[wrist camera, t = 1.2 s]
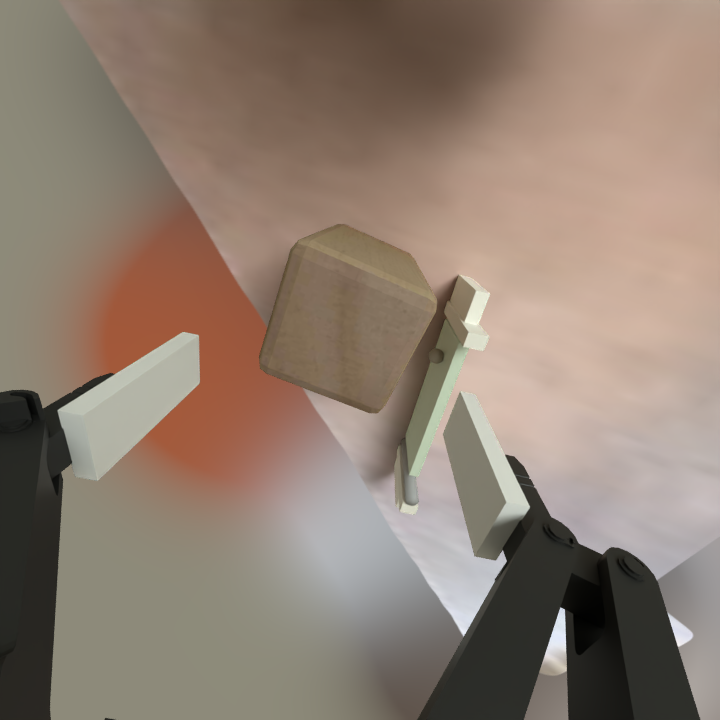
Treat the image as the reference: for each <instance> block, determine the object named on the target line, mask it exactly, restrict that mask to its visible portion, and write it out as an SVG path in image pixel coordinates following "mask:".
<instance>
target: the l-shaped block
mask: <svg viewBox="0 0 720 720" xmlns="http://www.w3.org/2000/svg"><path fill="white" fill-rule="evenodd" d="M489 296H490V293H489V292H488V291H486V290H485V289H484V288H483V287H482V286H480V285H479V284H478V283H477V282H476V281H474V280H473V279H472V278H471V277H468V276H463V275H459V276H458V279H457V282H456V285H455V287H454V290H453V293H452V296H451V299H450V301H447V304H446V307H445V310H444V313H445V315H446V317H447V319H448V321H449V322H450V324H451V326H452V328H453V330H454V331H455V333H456V335H457V337H458V339H459V340H460V342H461V344H462V346H463V347H467V348H471V349H476V350H480V351H484V349H485V346H486V344H487V342H488V339H489V336H488V334H487V333H486V332H485V331H484V329H483V328H482V327H481V326H480V324H479V321H480V319H481V316H482V313H483V311H484V308H485V306H486V303H487V301H488V298H489ZM401 444H402V445H399V446H398V449H397V458H396V461H395V464H394V475H395V502H396V507H399V510H400V512H403V513H408V514H413V515H415V514H416V511H417V509H418V502H419V500H418V491H417V483H416V476H411V475H409V468H408V457H407V446H406V438H404V439H403V440H402V441H401Z"/></svg>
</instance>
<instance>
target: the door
mask: <svg viewBox="0 0 720 720" xmlns="http://www.w3.org/2000/svg"><path fill="white" fill-rule="evenodd" d="M468 349H469V348H467V347H463V346H462V344H461V342H460V340H459V339H458V337H457V335H456V333H455V331H454V330H453V328H452V326H451V324H450V322H449V321H448V319H445V321H444V324H443V327H442V330H441V333H440V336H439V339H438V342H437V345H436V348H435V349H433V350H431V351H430V353H429V360H430V361H431V362H430V365H429V368H428V371H427V374H426V377H425V380H424V383H423V385H422V388H421V391H420V394H419V397H418V400H417V403H416V406H415V409H414V412H413V415H412V418H411V421H410V423H409V426H408V429H407V432H406V435H405V436H406V446H407V457H408V468H409V475H411V476H416V477H418V476H419V474H420V471H421V468H422V466H423V463H424V461H425V458H426V456H427V453H428V451H429V448H430V446H431V443H432V441H433V438H434V436H435V433H436V430H437V428H438V425H439V423H440V420H441V418H442V415H443V413H444V410H445V408H446V405H447V403H448V400H449V397H450V395H451V392H452V390H453V387H454V385H455V382H456V380H457V377H458V375H459V372H460V370H461V367H462V365H463V362H464V359H465V357H466V354H467V352H468Z"/></svg>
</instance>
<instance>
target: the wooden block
mask: <svg viewBox="0 0 720 720" xmlns="http://www.w3.org/2000/svg"><path fill="white" fill-rule="evenodd" d="M436 308H437V299H436V297H435V295H434V293H433V292H432V290H431V288H430V286H429V285H428V283H427V281H426V279H425V277H424V276H423V274H422V272H421V270H420V269H419V267H418V265H417V263H416V261H415V260H414V258H413V257H412V256H411V255H410V254H409V253H407V252H405V251H402V250H400V249H398V248H396V247H394V246H391V245H389V244H387V243H385V242H382V241H380V240H378V239H376V238H374V237H371V236H369V235H367V234H365V233H362V232H360V231H358V230H356V229H354V228H351V227H349V226H347V225H345V224H338V225H335V226H333V227H330V228H327V229H325V230H322V231H320V232H317V233H315V234H312V235H310V236H307V237H305V238H302V239H300V240H298V242H297V243H296V244H295V245H294V246H293V247H292V249H291V251H290V254H289V258H288V261H287V264H286V268H285V271H284V274H283V278H282V281H281V284H280V288H279V291H278V295H277V298H276V301H275V305H274V308H273V311H272V315H271V318H270V321H269V325H268V328H267V332H266V335H265V338H264V342H263V345H262V348H261V352H260V355H259V359H260V369H261V370H263V371H264V372H265V373H267V374H269V375H272V376H274V377H277V378H279V379H282V380H285V381H288V382H290V383H292V384H295V385H298V386H300V387H303V388H305V389H308V390H311V391H313V392H316V393H318V394H321V395H324V396H326V397H329V398H331V399H334V400H337V401H339V402H342V403H344V404H347V405H350V406H352V407H355V408H357V409H360V410H363V411H365V412H368V413H378V412H379V411H380V410H381V409H382V408H383V407H384V406H385V405H386V403H387V401H388V399H389V397H390V396H391V394H392V392H393V390H394V388H395V386H396V385H397V383H398V381H399V379H400V377H401V375H402V374H403V372H404V370H405V368H406V366H407V364H408V363H409V361H410V359H411V357H412V355H413V353H414V352H415V350H416V348H417V346H418V344H419V342H420V341H421V339H422V337H423V335H424V333H425V331H426V330H427V328H428V326H429V324H430V322H431V320H432V318H433V317H434V315H435V313H436Z"/></svg>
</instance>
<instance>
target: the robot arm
mask: <svg viewBox="0 0 720 720" xmlns="http://www.w3.org/2000/svg"><path fill="white" fill-rule="evenodd" d="M199 369H200V367H199V335H195V334H191V333H186V332H183V333H181V334H179V335H178V336H176V337H174V338H173V339H171V340H169V341H168V342H166V343H165V344H163V345H162V346H160V347H158V348H156V349H155V350H153V351H152V352H150V353H148V354H147V355H145V356H144V357H142V358H141V359H139V360H137V361H136V362H134V363H132V364H131V365H129V366H128V367H126V368H124V369H123V370H122V371H120V372H118V373H116V374H113V373H109V374H106V375H103V376H100V377H97V378H94V379H92V380H91V381H89V382H87V383H86V384H84V385H83V386H82V387H79V388H77V389H76V390H74V391H73V392H72V393H69V394H67V395H65V396H64V397H62V398H60V399H59V400H57V401H55V402H54V403H52V404H50V405H49V406H47V407H46V408H44V409H43V408H42V405H41V401H40V398H39V395H38V394H37V393H35V392H33V391H28V390H11V391H6V392H1V393H0V720H51V717H50V692H51V677H52V658H53V643H54V626H55V608H56V591H57V574H58V556H59V540H60V523H61V505H62V488H63V478H62V474H61V472H62V471H63V470H64V469H65V468H67V467H68V466H69V465H70V464H72V468H73V472H74V475H75V477H79V478H85V479H89V480H94V481H98V480H99V479H100V478H101V477H102V476H103V475H104V474H105V473H107V472H108V471H109V470H110V469H111V468H112V467H113V466H114V465H115V464H116V463H117V462H118V461H119V460H120V459H121V458H122V457H123V456H124V455H125V454H126V453H127V452H129V451H130V449H132V448H133V447H134V446H135V445H136V444H137V443H138V442H139V441H140V440H141V439H142V438H143V437H144V436H145V435H146V434H147V433H148V432H149V431H150V430H151V429H153V428H154V427H155V426H156V425H157V424H158V423H159V422H160V421H161V420H162V419H163V418H164V417H165V416H166V415H167V414H168V413H169V412H170V411H171V410H172V409H173V408H174V407H175V406H177V405H178V404H179V403H180V402H181V401H182V400H183V399H184V398H185V397H186V396H187V395H188V394H189V393H190V392H191V391H192V390H193V389H194V388H195V387H196V386H197V385H198V384H199V383H200V370H199ZM443 436H444V440H445V444H446V448H447V452H448V456H449V460H450V463H451V467H452V471H453V475H454V479H455V483H456V487H457V490H458V494H459V498H460V502H461V506H462V510H463V513H464V517H465V521H466V525H467V529H468V533H469V537H470V540H471V544H472V548H473V552H474V556H476V557H481V558H486V559H491V560H497V558H498V556H499V555H500V553H501V552H502V550H503V551H504V554H505V557H506V560H507V562H506V564H505V565H504V567H503V568H502V570H501V571H500V573H499V574H498V576H497V577H496V579H495V582H494V584H493V586H492V588H491V590H490V591H489V593H488V595H487V597H486V598H485V600H484V602H483V604H482V606H481V607H480V609H479V611H478V613H477V614H476V616H475V618H474V620H473V622H472V623H471V625H470V627H469V629H468V630H467V632H466V634H465V636H464V638H463V640H462V641H461V643H460V645H459V646H458V648H457V650H456V652H455V654H454V655H453V657H452V659H451V661H450V662H449V664H448V666H447V668H446V669H445V671H444V673H443V675H442V677H441V678H440V680H439V682H438V684H437V686H436V687H435V689H434V691H433V693H432V694H431V696H430V698H429V700H428V701H427V703H426V705H425V707H424V709H423V710H422V712H421V714H420V716H419V717H418V719H417V720H524V717H525V714H526V711H527V707H528V705H529V702H530V699H531V695H532V692H533V689H534V686H535V683H536V680H537V677H538V674H539V671H540V668H541V665H542V662H543V659H544V656H545V652H546V649H547V646H548V643H549V640H550V637H551V634H552V631H553V628H554V625H555V622H556V619H557V616H558V613H559V609H560V607H561V608H563V609H565V621H566V653H567V685H568V716H569V720H700V717H699V714H698V711H697V708H696V704H695V701H694V698H693V695H692V692H691V688H690V685H689V682H688V679H687V675H686V672H685V669H684V666H683V662H682V659H681V656H680V653H679V650H678V646H677V643H676V640H675V636H674V633H673V630H672V627H671V623H670V620H669V617H668V614H667V611H666V607H665V604H664V601H663V598H662V594H661V591H660V588H659V585H658V582H657V580H656V578H655V576H654V574H653V573H652V572H651V571H650V570H649V568H648V567H647V566H646V565H645V564H644V563H643V562H642V561H640V560H639V559H638V558H637V557H635V556H634V555H632V554H631V553H629V552H627V551H625V550H623V549H620V548H614V547H611V548H609V549H608V550H607V551H606V552H605V553H604V554H603V555H602V554H600V553H598V552H596V551H593V550H591V549H589V548H587V547H585V546H583V545H581V544H579V543H578V541H577V539H576V537H575V536H574V535H573V533H572V532H571V531H570V530H569V529H568V528H567V527H566V526H565V525H563V524H562V523H561V522H559V521H557V520H556V519H554V518H551V516H550V514H549V512H548V511H547V509H546V507H545V505H544V503H543V501H542V499H541V498H540V496H539V494H538V492H537V490H536V488H534V485H533V483H532V481H531V479H529V475H528V473H527V472H526V470H525V468H524V466H523V465H522V464H521V463H520V462H519V461H518V460H517V459H516V458H515V457H514V456H509V455H504V452H503V450H502V448H501V446H500V444H499V442H498V440H497V438H496V436H495V434H494V432H493V430H492V428H491V426H490V424H489V422H488V420H487V418H486V416H485V413H484V411H483V409H482V407H481V405H480V403H479V401H478V399H477V397H476V395H475V394H471V393H467V392H462V391H460V393H459V396H458V398H457V400H456V403H455V405H454V408H453V410H452V413H451V415H450V418H449V420H448V423H447V425H446V428H445V430H444V433H443ZM105 720H114V719H108V718H105Z"/></svg>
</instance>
